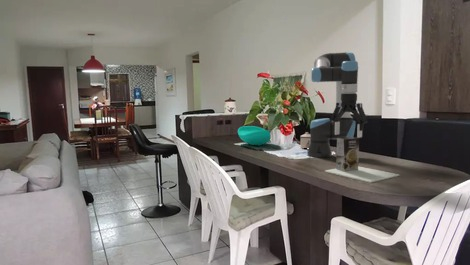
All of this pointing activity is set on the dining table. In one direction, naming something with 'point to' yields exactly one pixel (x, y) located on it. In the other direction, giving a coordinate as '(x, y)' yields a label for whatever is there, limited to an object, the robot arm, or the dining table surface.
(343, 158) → the coffee box
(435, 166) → the dining table surface
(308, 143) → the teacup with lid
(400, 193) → the dining table surface
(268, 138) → the table top decor
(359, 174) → the mat
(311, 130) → the robot arm
